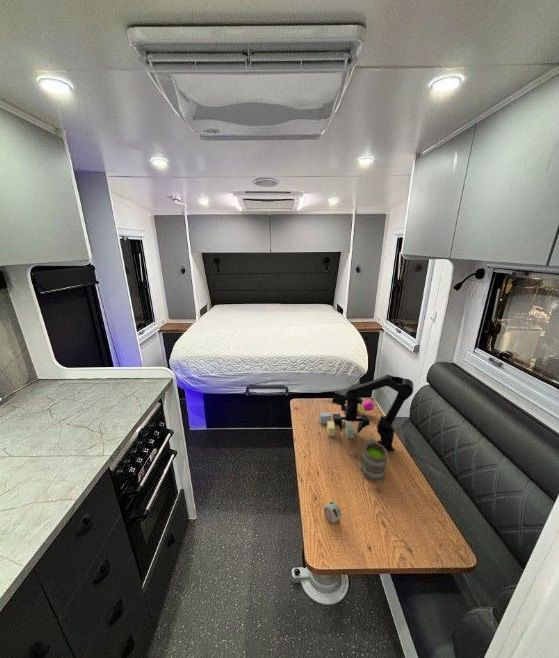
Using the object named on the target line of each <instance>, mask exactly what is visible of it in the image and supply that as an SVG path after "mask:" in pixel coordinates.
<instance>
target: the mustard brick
mask: <svg viewBox="0 0 559 658" xmlns="http://www.w3.org/2000/svg"><path fill="white" fill-rule="evenodd" d="M335 425H336V424H334V421H333V420H331V421H327V423H326V432H327V436H329V437H335V436H336V435H335V434H336V426H335Z"/></svg>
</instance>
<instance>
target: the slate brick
mask: <svg viewBox="0 0 559 658" xmlns="http://www.w3.org/2000/svg"><path fill="white" fill-rule="evenodd" d="M332 418H333V415H332V413H331V412H329V411H328V412H327V411H326V412H320V413H319V423H320V424H321V425H324V424H326V425H327V421H332Z"/></svg>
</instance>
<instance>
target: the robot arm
mask: <svg viewBox="0 0 559 658" xmlns="http://www.w3.org/2000/svg"><path fill="white" fill-rule="evenodd" d="M384 387H389V388H390V389H392V390H393V391H395V392H397V394H396V396H395V398H394V399H393V401H392V403H391V406H390V407H389V409H388V411H387V413H386V414H385V416H383V415H380V419H378V421H377V425H376V428H377V430H376V431H377V433H378V435H379V436H380V440H377V443H378V444H380V445H383V446H384V447H385V449H386V450H387V451H388V452H394V451H395V449H394V447H393V441H394V437H395V429H394V428H393V423H394V422H395V421H394V420H395V419H396V417H397V415H398V414H399V412H400V410H401V408H402V406H403V404H404V403H405V401H407V400H408V399H409V398H410V397H411V396H412V395H413V393H414V382H413V381H412V380H411V379H409V378H404V377H401V376H394V375H390V374H385V375H384V376H382V377H379V378H375V379H373V380H370V381H367V382H365V383H356V384H355V383H354V384H351V385H350V386H349V388H348V390H346V391H345V393H343V392H339V391H337V390H335V391H334V393H333V397H332V400H331V401H332V402H331V403H332V404H334V405H337V406H340V410H341V412H344V415H346V416H345V417H341V415H340V414H334V413H333V414H332V421H334V425H336V426H338V428H339V431H340V433H342V432H343V426H342V421H345V422H358V425H357V429H356V432H357V434H359V433H360V432H361V431H362V430H363V429H364V428H365V427H367V426H370V425H371V424H370V423H371V422H370V421H371V420H370V418H369V416H368V415H367V414H365V415H360V414H359V413H358V412H357V411H358V404H363V403H364V401H363V399H362V398H361V397H362V396H364V395H365V394H367V393H369V392H372V391H373V392H374V391H375V390H378V389H382V388H384ZM358 414H359V416H358Z"/></svg>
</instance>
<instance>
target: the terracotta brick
mask: <svg viewBox="0 0 559 658" xmlns="http://www.w3.org/2000/svg"><path fill="white" fill-rule="evenodd" d="M333 414H340V415H341V417H346V415H345V414H344V413H340V412H337V411H335V412H334V413H333ZM344 424H346V421H342V427H343V426H344Z"/></svg>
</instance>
